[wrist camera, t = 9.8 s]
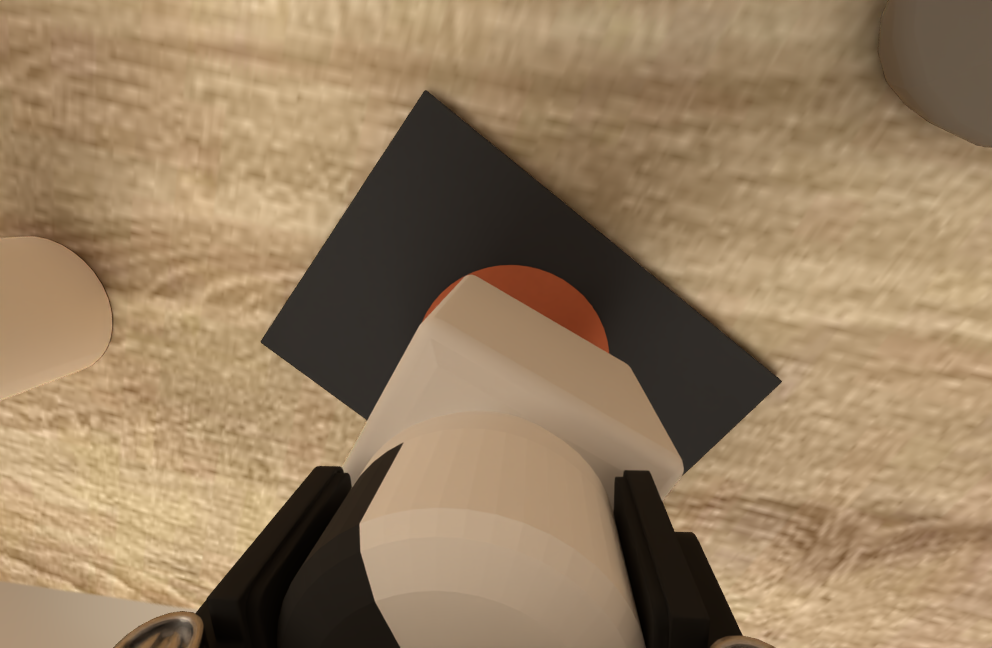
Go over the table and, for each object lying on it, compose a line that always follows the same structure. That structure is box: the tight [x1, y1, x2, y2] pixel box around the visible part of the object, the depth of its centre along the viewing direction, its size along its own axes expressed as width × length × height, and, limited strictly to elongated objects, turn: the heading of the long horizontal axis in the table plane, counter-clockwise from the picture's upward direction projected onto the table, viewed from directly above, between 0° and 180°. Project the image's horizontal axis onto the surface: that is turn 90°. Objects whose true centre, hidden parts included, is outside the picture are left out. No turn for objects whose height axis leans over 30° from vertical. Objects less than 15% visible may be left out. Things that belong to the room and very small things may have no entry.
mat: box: [261, 90, 782, 476], centre depth 22 cm, size 20×14×1 cm
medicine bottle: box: [277, 275, 684, 648], centre depth 13 cm, size 7×7×12 cm
